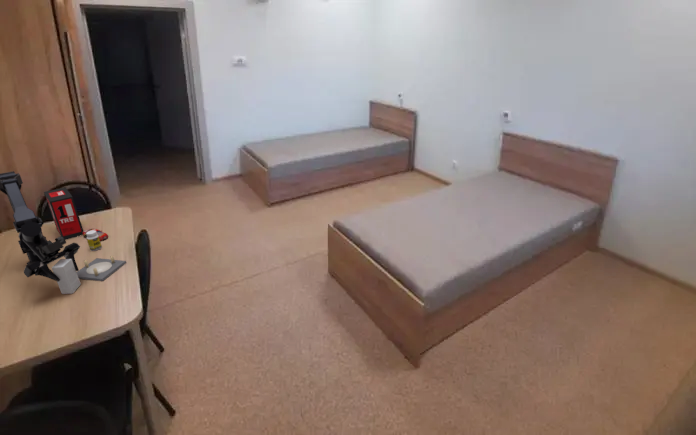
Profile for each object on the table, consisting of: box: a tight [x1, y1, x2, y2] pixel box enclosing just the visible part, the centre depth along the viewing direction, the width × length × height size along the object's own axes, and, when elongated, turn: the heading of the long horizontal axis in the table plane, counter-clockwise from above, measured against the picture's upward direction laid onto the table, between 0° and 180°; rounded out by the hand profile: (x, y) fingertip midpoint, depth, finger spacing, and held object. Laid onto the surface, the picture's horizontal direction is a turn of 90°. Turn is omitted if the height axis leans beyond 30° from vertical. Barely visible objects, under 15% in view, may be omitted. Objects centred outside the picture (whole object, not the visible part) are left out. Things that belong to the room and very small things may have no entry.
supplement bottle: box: [86, 230, 103, 252], centre depth 180 cm, size 5×5×8 cm
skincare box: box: [51, 258, 82, 295], centre depth 150 cm, size 6×4×12 cm
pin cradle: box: [76, 255, 127, 282], centre depth 164 cm, size 14×14×4 cm
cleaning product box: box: [43, 187, 85, 241], centre depth 193 cm, size 16×9×20 cm, turn 43°
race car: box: [82, 228, 109, 242], centre depth 191 cm, size 13×5×4 cm, turn 66°
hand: (68, 275), depth 150 cm, fingers closed on skincare box, 7 cm apart
